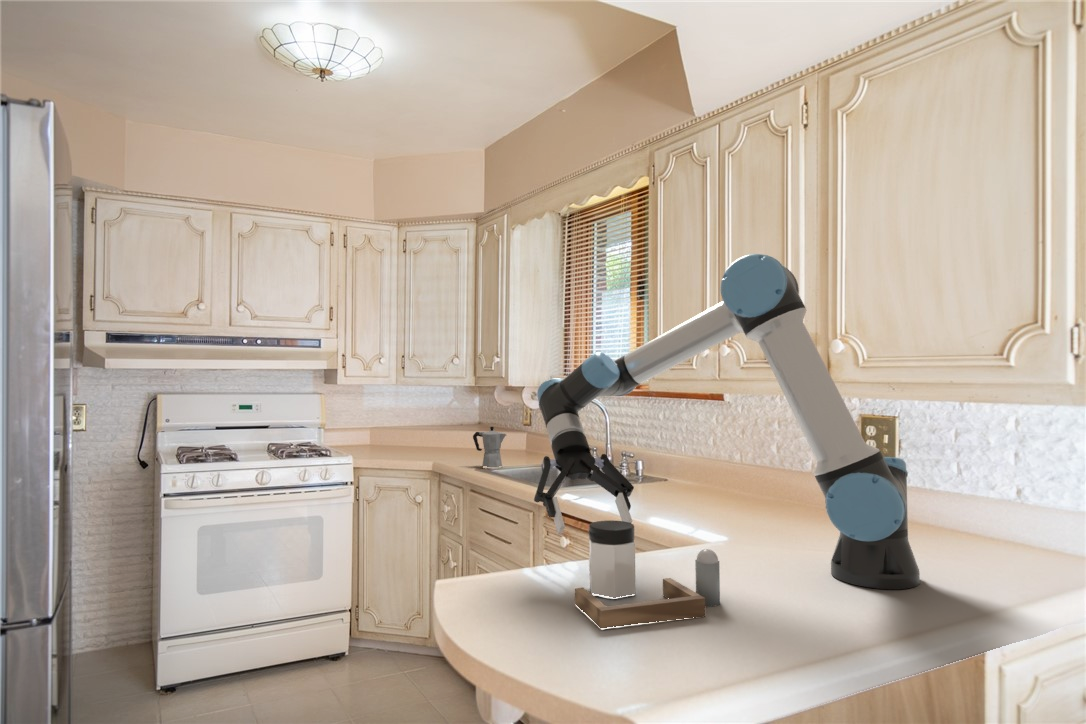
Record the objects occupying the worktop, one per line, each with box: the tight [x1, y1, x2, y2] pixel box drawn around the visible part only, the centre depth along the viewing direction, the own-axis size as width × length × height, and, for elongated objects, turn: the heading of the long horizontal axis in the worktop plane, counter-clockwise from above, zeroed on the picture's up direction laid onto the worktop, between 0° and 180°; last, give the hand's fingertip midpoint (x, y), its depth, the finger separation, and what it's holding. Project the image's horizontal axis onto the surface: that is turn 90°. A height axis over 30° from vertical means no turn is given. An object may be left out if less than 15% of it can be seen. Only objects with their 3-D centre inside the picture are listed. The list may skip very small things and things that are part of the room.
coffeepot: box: [472, 426, 507, 467], centre depth 292 cm, size 15×9×18 cm, turn 75°
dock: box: [574, 577, 706, 628], centre depth 110 cm, size 12×18×3 cm, turn 108°
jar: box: [588, 520, 637, 598], centre depth 120 cm, size 9×8×12 cm
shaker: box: [694, 548, 721, 607], centre depth 114 cm, size 4×4×9 cm
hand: (595, 527), depth 126 cm, fingers open, 13 cm apart
